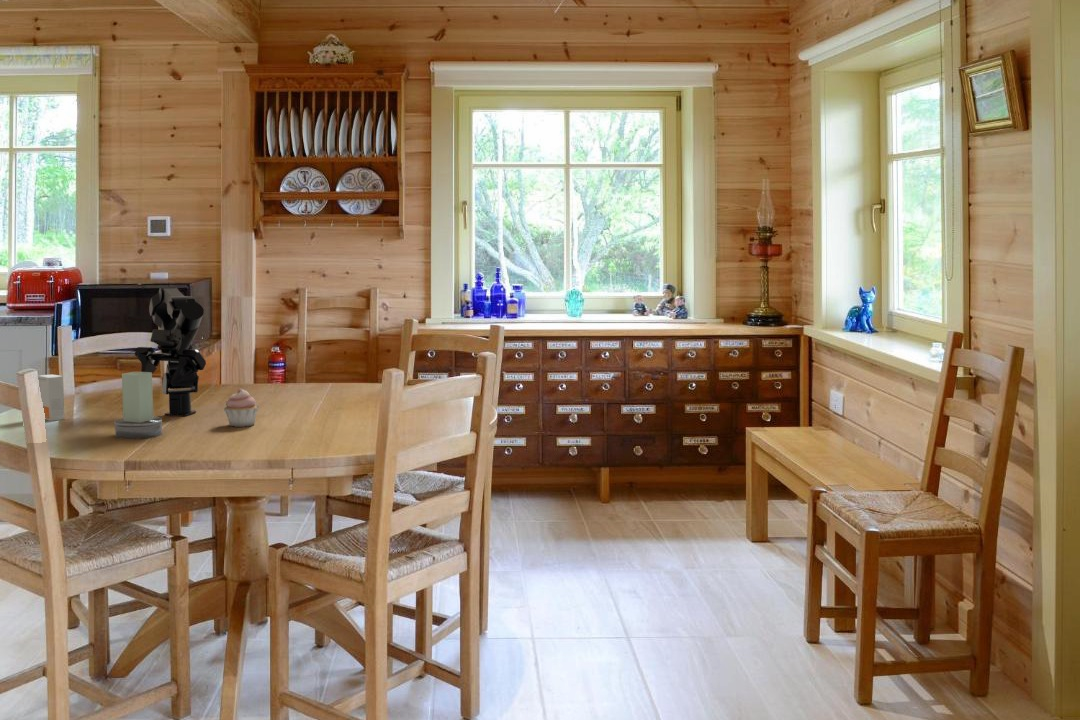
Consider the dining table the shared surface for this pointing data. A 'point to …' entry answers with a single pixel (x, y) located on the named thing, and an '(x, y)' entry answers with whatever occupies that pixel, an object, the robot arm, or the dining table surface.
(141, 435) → the charcoal tin
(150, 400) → the sage block
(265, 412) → the dining table surface
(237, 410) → the cupcake
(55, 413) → the skincare box
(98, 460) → the dining table surface
